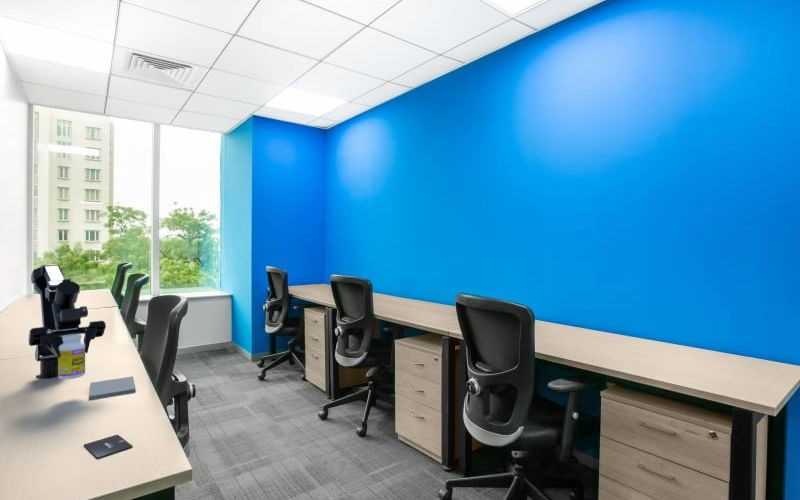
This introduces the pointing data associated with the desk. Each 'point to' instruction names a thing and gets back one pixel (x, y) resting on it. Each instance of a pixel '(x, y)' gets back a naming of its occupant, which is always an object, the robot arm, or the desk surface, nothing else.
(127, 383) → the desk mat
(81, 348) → the supplement bottle
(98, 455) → the solid state drive
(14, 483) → the desk surface
